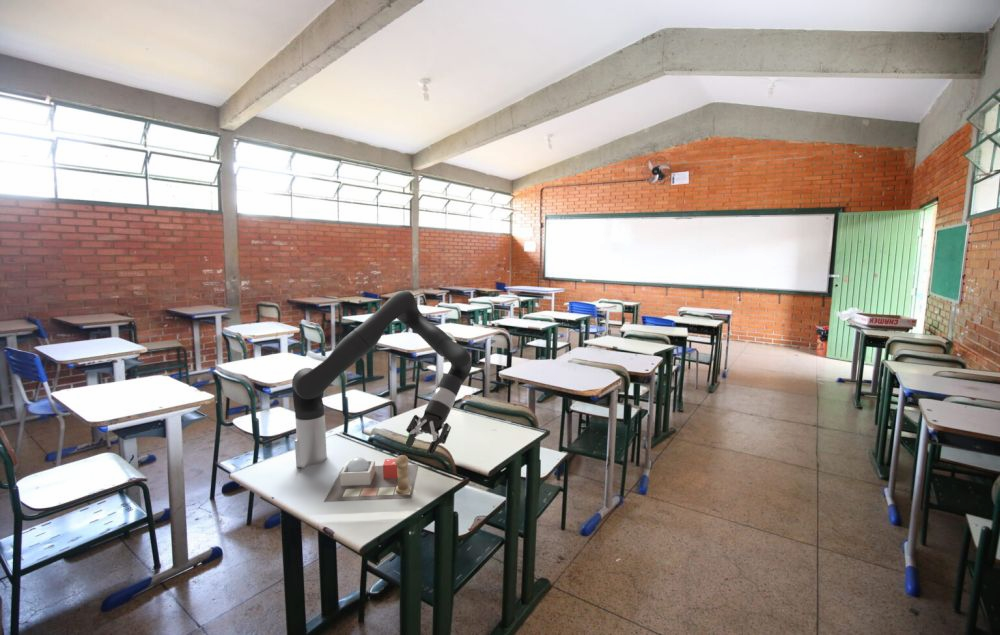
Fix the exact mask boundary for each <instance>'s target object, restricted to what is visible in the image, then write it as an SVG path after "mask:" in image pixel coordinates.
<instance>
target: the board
mask: <svg viewBox="0 0 1000 635" xmlns="http://www.w3.org/2000/svg"><path fill="white" fill-rule="evenodd" d="M343 468H344V466H343V467H342V468H341V470H340V471H339V473H338V476H337V477H336V479H335V481H334V482H333V484H332V486H331V488H330V490H329V492H328V494H326V497H325V499H324V500H323V502H324V503H326V502H327V503H328V502H329V503H330V502H331V503H332V502H351V501H352V502H353V501H355V502H356V501H358V502H359V501H378V500H379V501H380V500H402V499H413V494H414V487H415V483H416V478H417V473H418V468H419V464H408V485H410V491H409V492H408V493H406V494H398V493H396V487H397V486H398V478H384V479H383V465H375V474H374V476H373V479H372V481H371V484H370V485H349V486H341V475H340V473H341V472H342V470H343Z"/></svg>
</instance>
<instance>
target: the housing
mask: <svg viewBox="0 0 1000 635" xmlns="http://www.w3.org/2000/svg"><path fill="white" fill-rule="evenodd" d="M366 460H367V462H368V464H369V469H368V471H363V472H348V465H349V463H350V461H351V460H347V461H346V462H345V465H344V466H343V467H344V468H343V467H342V468H343V470H342V469H341V470H342V472H341V471H340V472H341V473H340V472H339V473H340V475H341V486H349V485H370V484H371V481H372V479H373V476H374V474H375V466H376V459H366Z"/></svg>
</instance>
